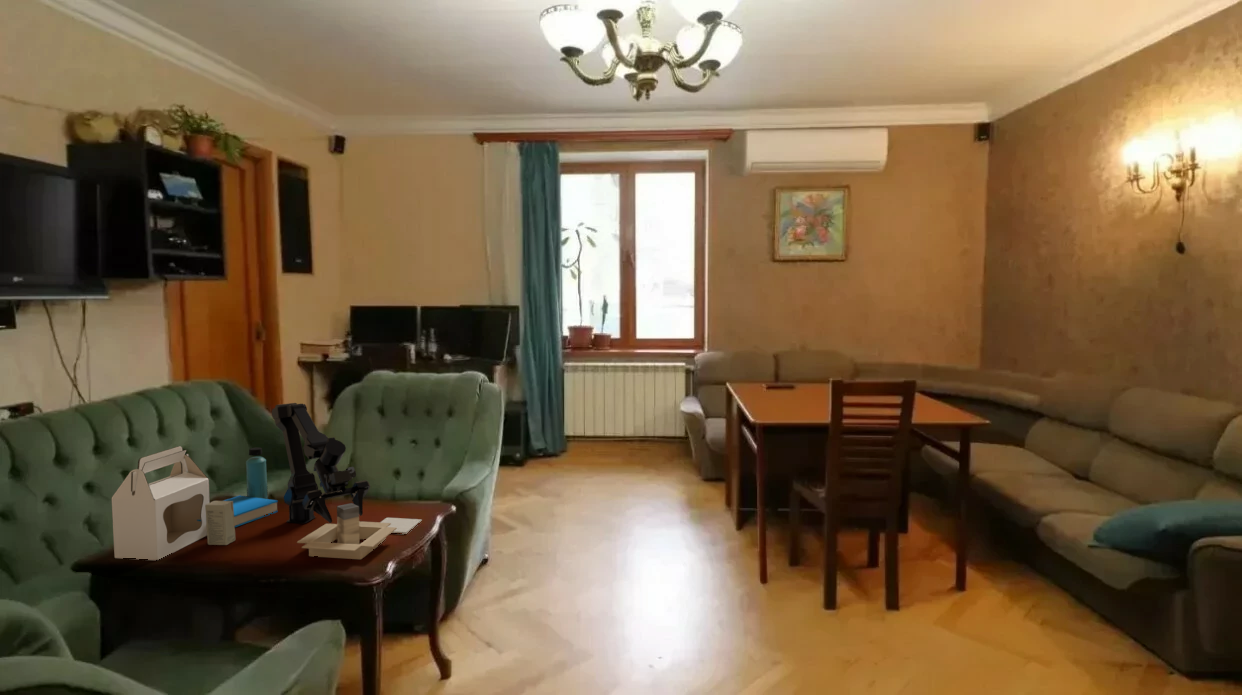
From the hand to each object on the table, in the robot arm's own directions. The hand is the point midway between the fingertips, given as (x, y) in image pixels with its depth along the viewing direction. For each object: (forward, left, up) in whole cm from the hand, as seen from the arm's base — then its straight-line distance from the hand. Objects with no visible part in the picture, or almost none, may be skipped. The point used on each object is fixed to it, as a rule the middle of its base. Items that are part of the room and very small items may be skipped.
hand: (346, 518), depth 208 cm
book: (-50, +16, -9) cm, 53 cm away
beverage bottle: (-50, +32, -9) cm, 60 cm away
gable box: (-53, -7, -9) cm, 54 cm away
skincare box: (-38, -3, -9) cm, 39 cm away
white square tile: (+7, +18, -9) cm, 21 cm away
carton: (+1, -1, -9) cm, 9 cm away
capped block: (+1, -1, -9) cm, 9 cm away
